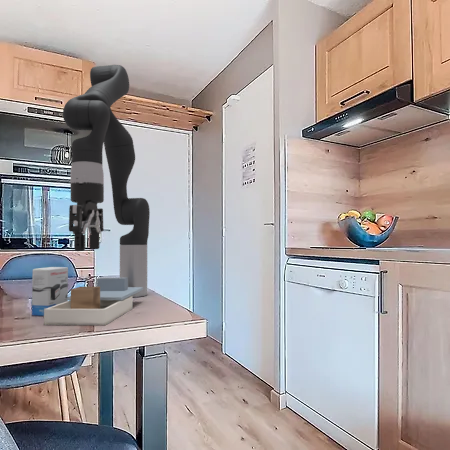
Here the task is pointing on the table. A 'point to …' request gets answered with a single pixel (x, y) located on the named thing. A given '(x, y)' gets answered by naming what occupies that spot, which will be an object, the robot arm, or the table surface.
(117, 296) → the lid
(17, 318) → the table surface
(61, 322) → the beige shallow tray
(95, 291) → the parcel
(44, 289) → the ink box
